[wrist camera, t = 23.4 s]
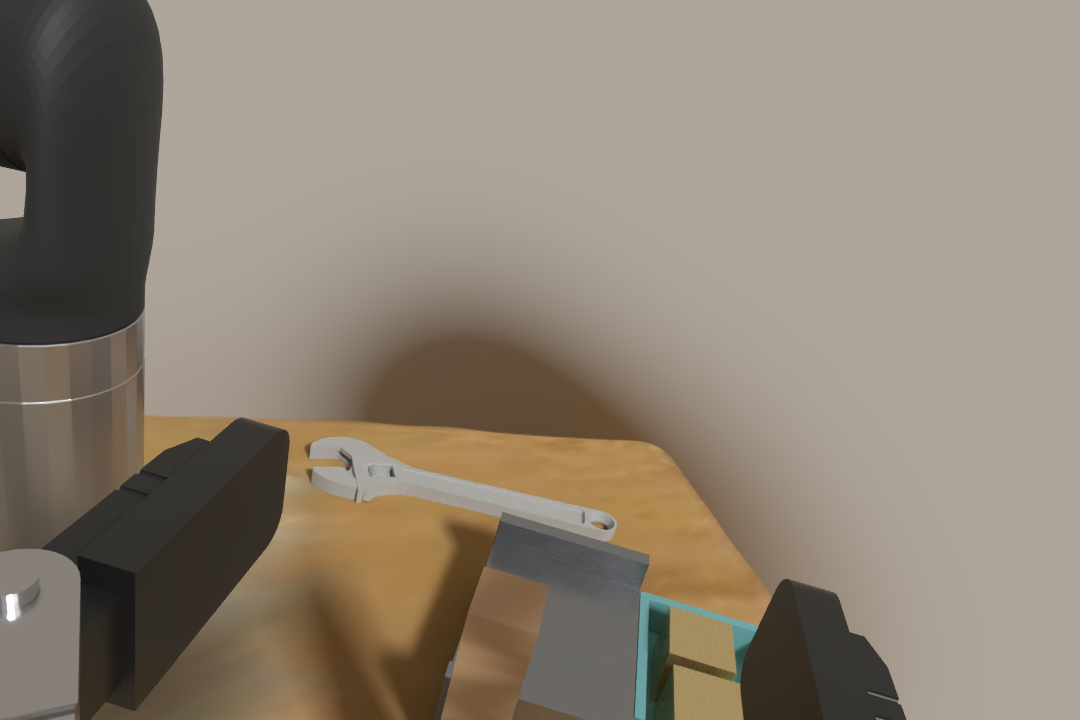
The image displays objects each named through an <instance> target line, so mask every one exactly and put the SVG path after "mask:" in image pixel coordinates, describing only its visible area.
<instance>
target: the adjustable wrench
mask: <svg viewBox="0 0 1080 720" xmlns="http://www.w3.org/2000/svg"><path fill="white" fill-rule="evenodd" d="M309 459H339V460H340V461H342V462H343V463H344V464H345V465H346V466H348V467H349V468H350V469H349V470H348V471H347V470H346V469H345V468H344V467H313V469H312V477H311V484H312V485H314V486H315V487H317V488H319V489H320V490H322V491H324V492H326V493H329V494H332V495H335V496H339V497H343V498H349V499H355V500H356V503H361V502H362V501H367V502H368V501H371V500H372V499H373V497H377V496H383V495H394V494H397V495H407V496H413V497H418V498H422V499H426V500H430V501H434V502H439V503H443V504H447V505H451V506H455V507H460V508H464V509H468V510H472V511H476V512H480V513H485V514H489V515H493V516H497V517H501V515H502V512H505V513H508V514H511V515H515V516H518V517H522V518H525V519H528V520H532V521H535V522H539V523H542V524H545V525H549V526H552V527H556V528H559V529H562V530H566V531H569V532H573V533H576V534H579V535H583V536H586V537H589V538H593V539H596V540H600V541H608V540H610V539H612V538H613V536H614V533H615V530H616V527H617V523H616V520H615V519H614V518H613V517H612V516H611V515H609V514H607V513H605V512H602V511H598V510H594V509H590V508H585V507H581V506H576V505H572V504H568V503H563V502H559V501H555V500H550V499H546V498H542V497H537V496H533V495H529V494H524V493H520V492H515V491H511V490H507V489H502V488H498V487H494V486H489V485H485V484H481V483H476V482H472V481H467V480H463V479H459V478H454V477H450V476H446V475H441V474H437V473H433V472H428V471H424V470H420V469H417V468H413V467H411V466H408V465H406V464H403V463H401V462H399V461H397V460H395V459H393V458H391V457H389V456H387V455H386V454H384V453H382V452H380V451H379V450H377V449H375V448H374V447H372V446H371V445H369V444H367V443H365V442H363V441H360V440H357V439H353V438H347V437H330V438H324V439H320V440H317V441H315V442H313V443H312V444H311V449H310V456H309ZM591 523H599V524H602V525H603V526H605V527H606V528H607V529H608V530H603V529H599V528H597V527H595V526H593V525H592V524H591Z"/></svg>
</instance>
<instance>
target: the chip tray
mask: <svg viewBox="0 0 1080 720" xmlns="http://www.w3.org/2000/svg"><path fill="white" fill-rule="evenodd" d="M670 606H672V607H676V608H679V609H682V610H686V611H689V612H692V613H695V614H699V615H702V616H705V617H708V618H712V619H715V620H718V621H722V622H725V623H728V624H731V625H732V631H733V641H734V651H735V661H736V672H737V674H736V676H735V678H734V680H733V682H736V683H739V684H740V681H741V672H742V666H743V662H744V658H745V655H746V652H747V650H748V647H749V645H750V643H751V641H752V639H753V637H754V635H755V633H756V631H757V628H758V626H757V625H753V624H750V623H746V622H743V621H740V620H736V619H733V618H730V617H726V616H723V615H720V614H716V613H713V612H709V611H706V610H703V609H699V608H696V607H693V606H689V605H686V604H683V603H679V602H676V601H672V600H669V599H666V598H662V597H659V596H656V595H652V594H649V593H646V592H642V591H641V592H640V600H639V620H638V639H637V659H636V679H635V699H634V717H635V718H639V719H642V720H653V711H654V709H655V707H656V704H657V703H656V702H653V701H650V681H651V656H652V649H653V647H654V644H655V642H656V639H657V637H658V634H659V632H660V630H661V627H662V625H663V622H664V620H665V617H666V615H667V612H668V610H669V607H670Z"/></svg>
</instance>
